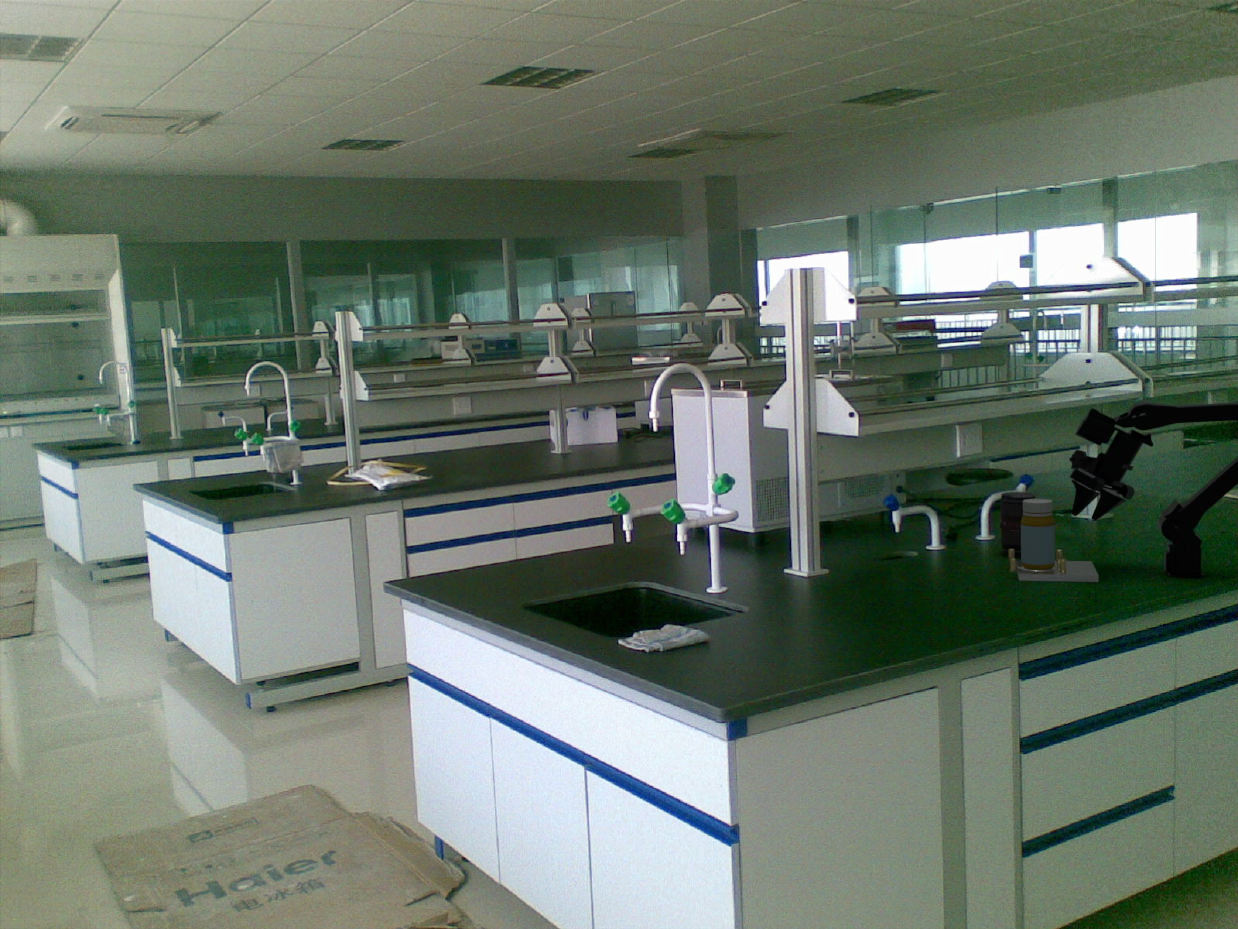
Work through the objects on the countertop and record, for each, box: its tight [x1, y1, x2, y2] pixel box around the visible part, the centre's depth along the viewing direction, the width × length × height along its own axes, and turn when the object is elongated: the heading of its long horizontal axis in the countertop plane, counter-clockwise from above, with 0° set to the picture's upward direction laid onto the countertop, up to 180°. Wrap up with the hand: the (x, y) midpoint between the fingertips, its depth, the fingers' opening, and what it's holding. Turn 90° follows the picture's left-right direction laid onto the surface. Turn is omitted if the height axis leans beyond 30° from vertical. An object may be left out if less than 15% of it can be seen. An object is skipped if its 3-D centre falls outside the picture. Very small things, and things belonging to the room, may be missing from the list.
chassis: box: [1008, 548, 1099, 583], centre depth 241 cm, size 18×14×4 cm
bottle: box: [1020, 498, 1056, 570], centre depth 241 cm, size 7×7×15 cm
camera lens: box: [999, 491, 1036, 559], centre depth 261 cm, size 8×8×15 cm
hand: (1083, 517), depth 241 cm, fingers open, 9 cm apart
